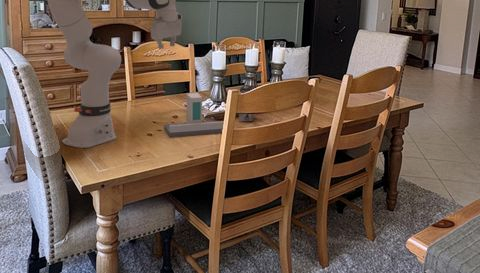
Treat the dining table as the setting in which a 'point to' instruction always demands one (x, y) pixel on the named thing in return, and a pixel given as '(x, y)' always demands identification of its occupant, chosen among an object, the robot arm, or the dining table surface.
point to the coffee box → (246, 116)
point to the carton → (194, 108)
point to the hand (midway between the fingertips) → (166, 47)
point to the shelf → (193, 128)
